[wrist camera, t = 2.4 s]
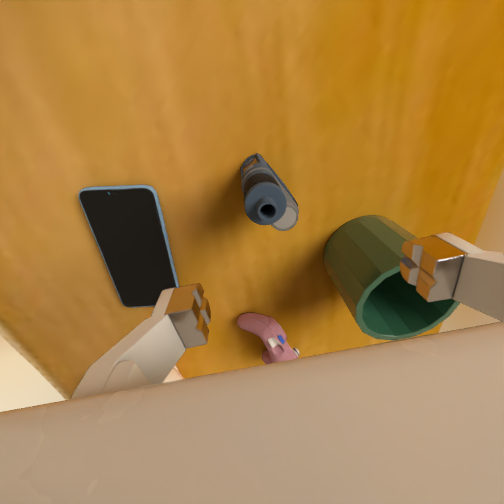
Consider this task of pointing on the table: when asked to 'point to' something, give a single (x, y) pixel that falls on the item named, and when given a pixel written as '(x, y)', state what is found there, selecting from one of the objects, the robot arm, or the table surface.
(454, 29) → the table surface
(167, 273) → the smartphone
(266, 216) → the vaping device
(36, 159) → the table surface
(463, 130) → the table surface
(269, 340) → the video game controller
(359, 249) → the pen cup
